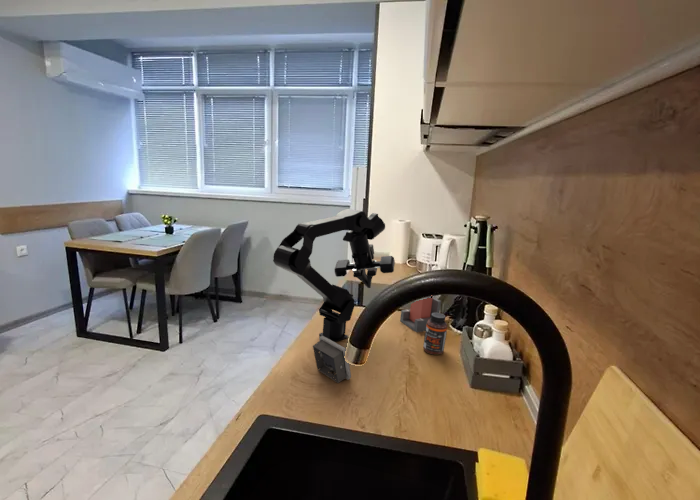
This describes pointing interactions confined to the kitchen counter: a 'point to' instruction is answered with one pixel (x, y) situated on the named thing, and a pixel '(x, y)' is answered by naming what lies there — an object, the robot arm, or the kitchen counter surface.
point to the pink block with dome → (420, 309)
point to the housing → (422, 322)
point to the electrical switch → (331, 359)
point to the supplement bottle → (435, 334)
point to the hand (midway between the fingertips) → (369, 287)
